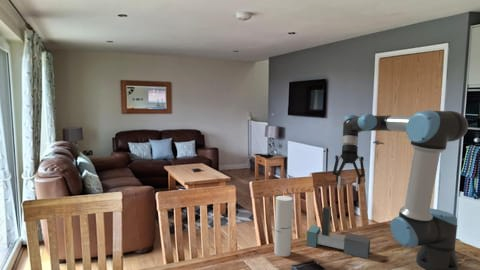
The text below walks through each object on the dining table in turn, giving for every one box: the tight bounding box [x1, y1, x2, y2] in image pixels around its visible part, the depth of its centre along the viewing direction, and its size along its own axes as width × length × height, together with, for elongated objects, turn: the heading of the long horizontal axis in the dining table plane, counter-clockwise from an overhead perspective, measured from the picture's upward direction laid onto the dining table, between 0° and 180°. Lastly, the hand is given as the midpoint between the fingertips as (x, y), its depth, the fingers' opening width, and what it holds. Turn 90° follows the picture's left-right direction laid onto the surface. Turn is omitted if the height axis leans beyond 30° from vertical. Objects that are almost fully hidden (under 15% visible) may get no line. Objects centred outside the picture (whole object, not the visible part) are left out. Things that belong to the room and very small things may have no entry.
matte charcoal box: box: [343, 232, 371, 260], centre depth 144 cm, size 10×7×7 cm
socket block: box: [306, 224, 322, 248], centre depth 153 cm, size 4×8×7 cm, turn 152°
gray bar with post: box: [316, 205, 346, 251], centre depth 149 cm, size 18×5×17 cm, turn 62°
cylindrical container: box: [274, 195, 293, 258], centre depth 142 cm, size 7×7×25 cm
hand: (347, 190), depth 160 cm, fingers open, 8 cm apart
